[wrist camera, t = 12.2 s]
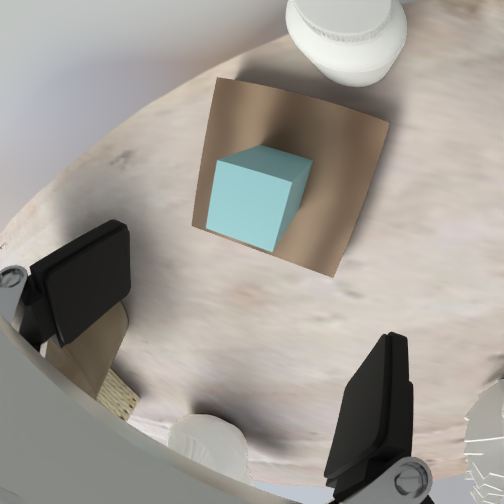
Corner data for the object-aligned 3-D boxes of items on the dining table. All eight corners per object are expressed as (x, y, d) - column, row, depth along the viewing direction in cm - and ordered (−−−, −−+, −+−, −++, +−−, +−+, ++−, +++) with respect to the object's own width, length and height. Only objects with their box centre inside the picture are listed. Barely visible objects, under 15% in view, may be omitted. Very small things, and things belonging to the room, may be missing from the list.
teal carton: (312, 160, 25) (292, 182, 18) (298, 210, 28) (272, 252, 20) (260, 144, 26) (217, 160, 19) (248, 194, 29) (205, 228, 21)
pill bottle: (314, 11, 22) (274, -61, 9) (394, 25, 20) (420, -42, 7) (306, 80, 26) (260, 51, 13) (387, 96, 24) (416, 78, 11)
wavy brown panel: (385, 121, 25) (389, 122, 21) (336, 260, 33) (333, 277, 29) (233, 80, 28) (217, 77, 24) (207, 213, 36) (191, 225, 32)
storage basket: (103, 355, 63) (66, 394, 51) (148, 401, 65) (117, 442, 53) (79, 370, 75) (50, 400, 63) (115, 406, 78) (89, 438, 65)
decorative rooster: (171, 401, 60) (115, 483, 40) (223, 400, 53) (164, 505, 32) (229, 456, 66) (191, 529, 45) (279, 459, 59) (245, 545, 38)
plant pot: (172, 316, 46) (87, 414, 28) (134, 369, 60) (77, 437, 41) (70, 220, 46) (-27, 278, 27) (58, 295, 59) (-6, 347, 41)
